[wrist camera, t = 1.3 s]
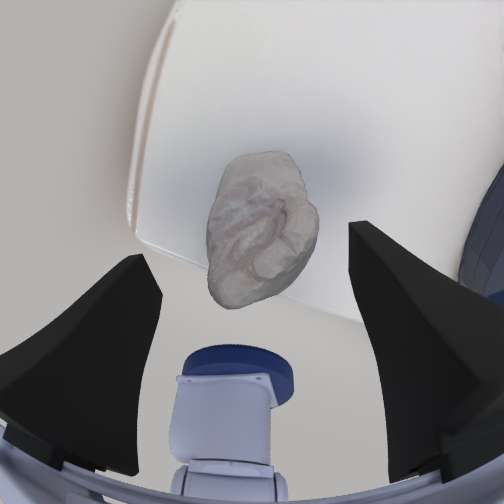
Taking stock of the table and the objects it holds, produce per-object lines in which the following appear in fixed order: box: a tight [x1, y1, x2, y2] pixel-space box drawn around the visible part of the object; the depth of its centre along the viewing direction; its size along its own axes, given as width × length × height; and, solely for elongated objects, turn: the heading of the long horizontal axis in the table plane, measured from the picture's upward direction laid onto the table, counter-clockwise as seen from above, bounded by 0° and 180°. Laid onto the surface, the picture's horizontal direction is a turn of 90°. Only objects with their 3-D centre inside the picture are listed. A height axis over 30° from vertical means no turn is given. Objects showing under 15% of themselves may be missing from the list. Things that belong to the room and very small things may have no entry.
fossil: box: [206, 151, 319, 309], centre depth 12 cm, size 6×4×10 cm, turn 154°
